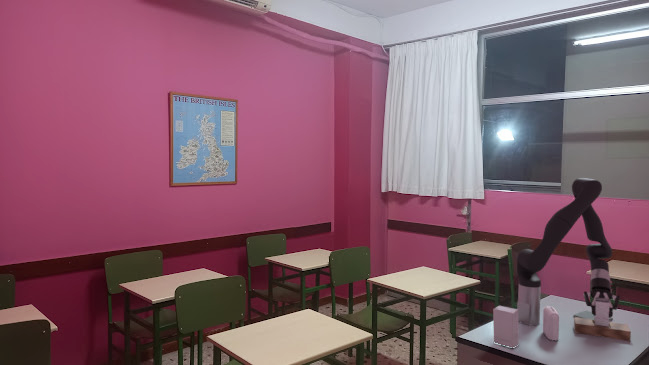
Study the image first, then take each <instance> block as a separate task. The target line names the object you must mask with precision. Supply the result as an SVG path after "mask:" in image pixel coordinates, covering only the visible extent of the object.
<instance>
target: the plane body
mask: <svg viewBox="0 0 649 365" xmlns="http://www.w3.org/2000/svg"><path fill="white" fill-rule="evenodd" d="M573 318H574V322H573V328H574V333H576V334H581V335H582V334H584V335H589V336H596V337H600V338H601V337H602V338H608V339H614V340H623V341H627V342H631V332H632V331H631V328H629V325H628V324H626V323H620V322H612V321H609V328H607V327H600V326H595V325H594V320H592V319H585V318H578V317H573Z"/></svg>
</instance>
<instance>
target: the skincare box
mask: <svg viewBox="0 0 649 365" xmlns="http://www.w3.org/2000/svg"><path fill="white" fill-rule="evenodd" d="M492 312H493V316H492V317H493V319H492V321H493V325H492V326H493V343H494V342H495V343H498V344H501V345H505V346H509V347H512V348H513V347H515V346H517V345H518V344H519V345H520V332H519V330H520V329H519V328H520V327H519V322H518V309H517V308H512V307H509V306H502V305H498V306H496V307H495V308H493V309H492ZM519 345H518V346H519ZM518 346H517V347H518Z"/></svg>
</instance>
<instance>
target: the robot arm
mask: <svg viewBox="0 0 649 365" xmlns="http://www.w3.org/2000/svg"><path fill="white" fill-rule="evenodd" d="M602 190H603V186H602V182H601V181H599V180H597V179H593V178H585V177H578V178H576V179H574V180H573V182H572V184H571V192H572V194H573V196H574V200H573V201H571V202H570V203H569V204H567V205H565V206H564V207H562V208H560V209H559V210H557V211H556V212H555V213H554V214H553V215H552V216H551V217H550V219H549V220H548V221H547V223H546V224H545V227H544V231H543V235H542V240H541V241H540V243H539V244H538V246H537V247H535V249H529V248H524V249H522V250H521V251H520V252H519V253H518V255H517V258H516V275H517V279H518V294H517V295H518V297H517V298H518V299H517V302H516V304H517V305H516V309H518V323H521V324H525V325H527V326H535V325H536V326H537V325H539V324H540V322H541V320H540V319H541V292H542V290H541V289H542V288H541V286H542V281H541V278H540V277H539V276H538V273H539V272H540V271H541V270H543V269H544V267H545V266H546V265H547V263H548V262H549V260H550V258H551V256H552V255H553V253H554V252H555V250H556V249H557V248H558V246H559V245H560V244H561V242H562V240H563V239H564V238H565V237H566V236H567V235H568V233H569V232H570V231H571V229H572V228H573V227H574V225H575V224H576V223H577V221H578V220H579V219H580V218H581V216H582V220H583V223H584V228H585V232H586V237H587V239H588V241H591V242H596V243H589V244H588V245H586V247H585V251H586V252H585V253H586V256H587V258H588V260H589V263H590V291H588V292H587V291H583V299H584V302H585V304H586V307H590V308H591V312H592V314H593V315H594V316H596V309H595V298H596V297H599V298H607V299H609V303H610V305H609V318H611V317H612V318H613V314H614V311H616V310H617V309H618V306H619V300H620V298H621V296H620V295H617V294H616V295H614V294H613V293H612V285H611V275H610V270H609V269H610V266H609V263H608V261H606V259H610V258H612V256H613V248H612V246H611V245H610V243H609V242H608V240H607V238H606V236H605V232H604V231H605V230H604V227H603V223H602V220H601V219H600V217H599V215H598V213H597V212H596V210H595V208H594V207H593V203H594V202H595V201H596V200H597V199H598V197H599V196H601V193H602V192H603V191H602ZM590 297H591V298H592V299H593V300H592V302H591V301H590ZM612 299H613V300H612ZM611 300H612V301H614V304H612V302H611ZM613 310H614V311H613Z"/></svg>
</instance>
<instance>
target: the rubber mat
mask: <svg viewBox="0 0 649 365" xmlns="http://www.w3.org/2000/svg"><path fill="white" fill-rule="evenodd" d="M572 317H573V318H574V317H578V318H585V319H592V320H594V315H593V314H592V310H591V311H590V310H583V311H580V312H578V313H575V314H573V316H572ZM613 318H614V317H613V316H612V317H611V318H609V322H612V321H613V320H614V319H613Z"/></svg>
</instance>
